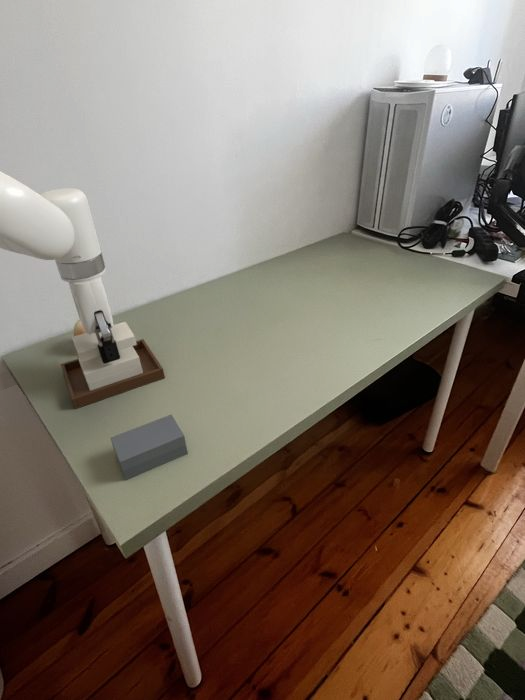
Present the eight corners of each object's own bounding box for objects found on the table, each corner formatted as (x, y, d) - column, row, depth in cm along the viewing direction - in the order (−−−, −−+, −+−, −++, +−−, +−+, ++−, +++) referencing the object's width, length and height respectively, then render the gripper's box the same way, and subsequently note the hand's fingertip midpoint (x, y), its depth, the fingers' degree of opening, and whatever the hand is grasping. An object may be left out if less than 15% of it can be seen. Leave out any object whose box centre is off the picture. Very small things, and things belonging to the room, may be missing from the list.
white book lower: (90, 391, 83) (87, 382, 82) (83, 373, 88) (80, 365, 86) (143, 373, 87) (141, 365, 86) (133, 357, 92) (131, 349, 91)
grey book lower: (125, 480, 65) (122, 471, 64) (116, 455, 69) (113, 446, 68) (187, 453, 69) (186, 444, 68) (175, 431, 73) (173, 423, 72)
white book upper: (87, 382, 82) (84, 374, 80) (80, 365, 86) (77, 357, 85) (141, 365, 86) (139, 356, 85) (131, 349, 91) (129, 341, 89)
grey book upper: (122, 471, 64) (119, 462, 63) (113, 446, 68) (110, 437, 67) (186, 444, 68) (184, 435, 67) (173, 423, 72) (171, 414, 71)
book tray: (75, 409, 79) (71, 399, 78) (63, 373, 89) (60, 364, 88) (165, 378, 86) (163, 368, 85) (145, 347, 96) (143, 338, 94)
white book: (81, 362, 79) (78, 353, 78) (74, 345, 84) (71, 337, 83) (136, 344, 83) (134, 336, 82) (127, 330, 88) (125, 321, 87)
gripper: (51, 255, 79) (79, 337, 89) (67, 289, 67) (97, 381, 77) (93, 246, 82) (115, 327, 92) (115, 277, 69) (138, 367, 79)
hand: (106, 350), depth 84 cm, fingers closed on white book, 6 cm apart
